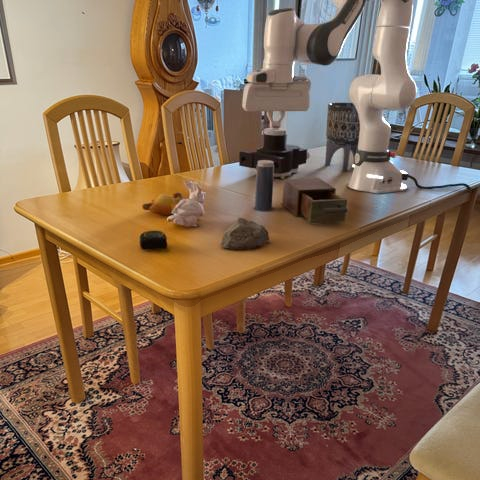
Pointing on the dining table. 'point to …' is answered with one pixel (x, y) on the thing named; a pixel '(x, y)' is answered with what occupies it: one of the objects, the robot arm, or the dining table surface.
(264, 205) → the salt shaker
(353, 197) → the dining table surface
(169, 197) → the toy
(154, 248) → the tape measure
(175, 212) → the figurine
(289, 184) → the cabinet
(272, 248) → the dining table surface
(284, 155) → the mechanical component
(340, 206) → the drawer
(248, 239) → the rock
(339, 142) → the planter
